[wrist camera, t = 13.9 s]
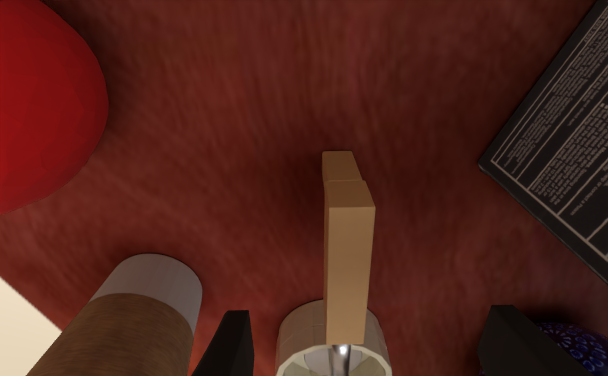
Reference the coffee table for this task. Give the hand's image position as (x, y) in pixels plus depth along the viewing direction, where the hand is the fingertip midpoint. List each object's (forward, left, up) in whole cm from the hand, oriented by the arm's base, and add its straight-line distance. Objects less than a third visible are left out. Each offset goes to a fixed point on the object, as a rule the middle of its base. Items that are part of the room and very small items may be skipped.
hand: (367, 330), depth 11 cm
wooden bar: (-2, +7, -10) cm, 12 cm away
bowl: (-3, +13, -10) cm, 17 cm away
